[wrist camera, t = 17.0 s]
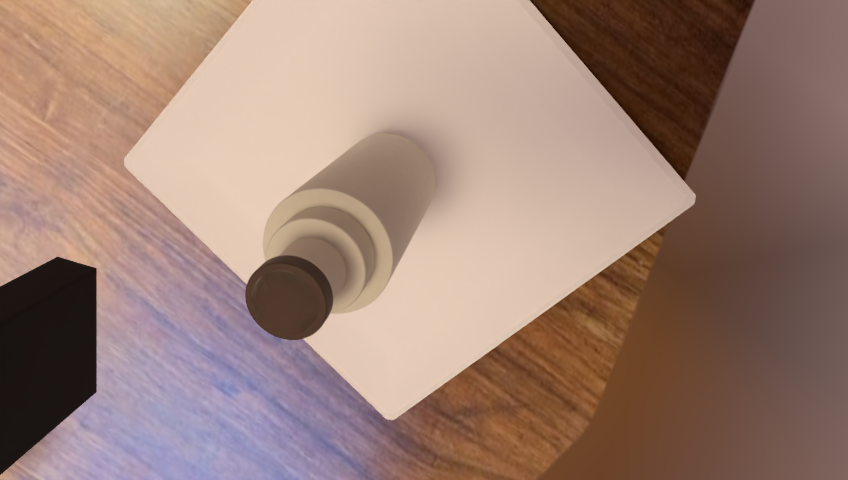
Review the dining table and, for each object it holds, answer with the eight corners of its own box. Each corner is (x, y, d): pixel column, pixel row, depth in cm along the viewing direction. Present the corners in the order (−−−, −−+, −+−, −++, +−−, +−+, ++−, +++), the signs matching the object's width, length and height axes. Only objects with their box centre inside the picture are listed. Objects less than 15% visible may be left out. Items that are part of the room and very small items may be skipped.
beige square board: (395, -158, 33) (386, -168, 31) (692, 191, 37) (701, 201, 35) (137, 156, 43) (118, 163, 41) (395, 407, 47) (389, 424, 45)
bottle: (445, 147, 37) (378, 252, 21) (423, 237, 39) (349, 390, 24) (350, 122, 37) (216, 206, 22) (334, 212, 39) (203, 347, 24)
